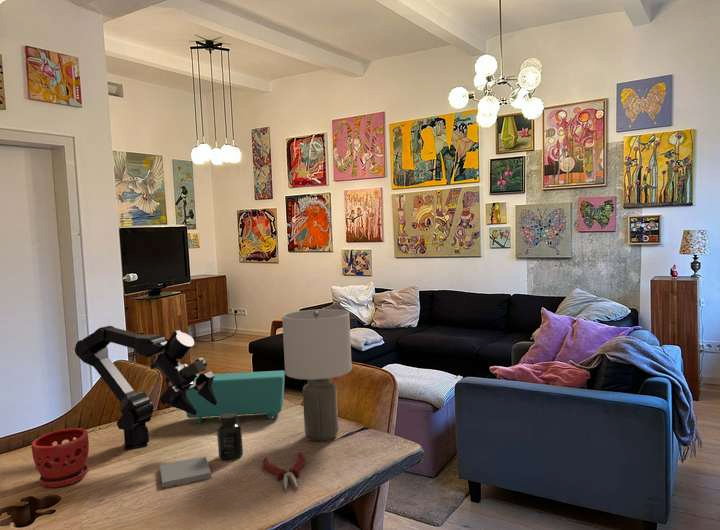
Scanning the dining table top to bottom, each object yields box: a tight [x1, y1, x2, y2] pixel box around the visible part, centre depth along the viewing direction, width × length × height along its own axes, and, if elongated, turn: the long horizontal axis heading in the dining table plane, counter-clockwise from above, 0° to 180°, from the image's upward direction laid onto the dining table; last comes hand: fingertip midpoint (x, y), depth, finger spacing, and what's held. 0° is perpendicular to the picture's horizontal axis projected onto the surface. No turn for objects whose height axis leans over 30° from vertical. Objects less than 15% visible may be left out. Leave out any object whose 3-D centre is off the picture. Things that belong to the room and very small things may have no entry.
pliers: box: [262, 451, 306, 491], centre depth 143 cm, size 12×20×3 cm, turn 14°
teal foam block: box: [185, 370, 286, 424], centre depth 190 cm, size 34×10×15 cm, turn 93°
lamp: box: [281, 308, 353, 442], centre depth 168 cm, size 20×20×39 cm
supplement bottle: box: [216, 413, 244, 462], centre depth 156 cm, size 7×7×12 cm
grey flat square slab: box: [159, 456, 212, 488], centre depth 146 cm, size 12×12×2 cm
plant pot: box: [31, 427, 90, 488], centre depth 146 cm, size 13×13×12 cm
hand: (206, 409), depth 159 cm, fingers open, 9 cm apart
